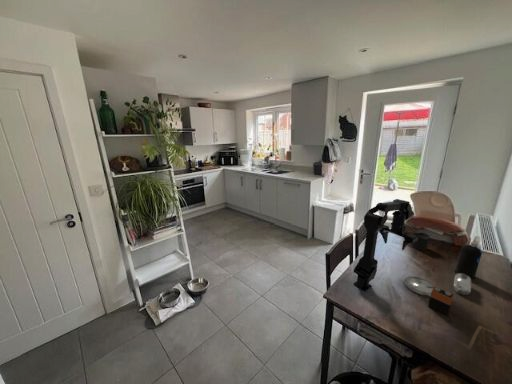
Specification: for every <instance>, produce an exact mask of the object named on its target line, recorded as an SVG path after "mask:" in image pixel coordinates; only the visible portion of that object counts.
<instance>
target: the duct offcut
mask: <svg viewBox="0 0 512 384" xmlns="http://www.w3.org/2000/svg"><path fill="white" fill-rule="evenodd" d="M452 286H453V289H454V291H455V292H457V293H458V294H460V295H463V296H465V295H469V294H471V291H472V279H471V278H470V277H469V276H467V275H466V274H462V273H459V274H456V273H455V276H454V281H453V285H452Z"/></svg>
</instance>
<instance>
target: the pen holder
mask: <svg viewBox="0 0 512 384" xmlns="http://www.w3.org/2000/svg"><path fill="white" fill-rule="evenodd" d="M412 234H413V235H416V236H417V237H418V240H417V241H416V242H414V243H410V246H411V248H412V249H415V250H417V251H421V252H423V251H426V250H427V249H428V246H429V241H430V239H431V236H430V234H427V233H425V232H414V231H413V232H412Z"/></svg>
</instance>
